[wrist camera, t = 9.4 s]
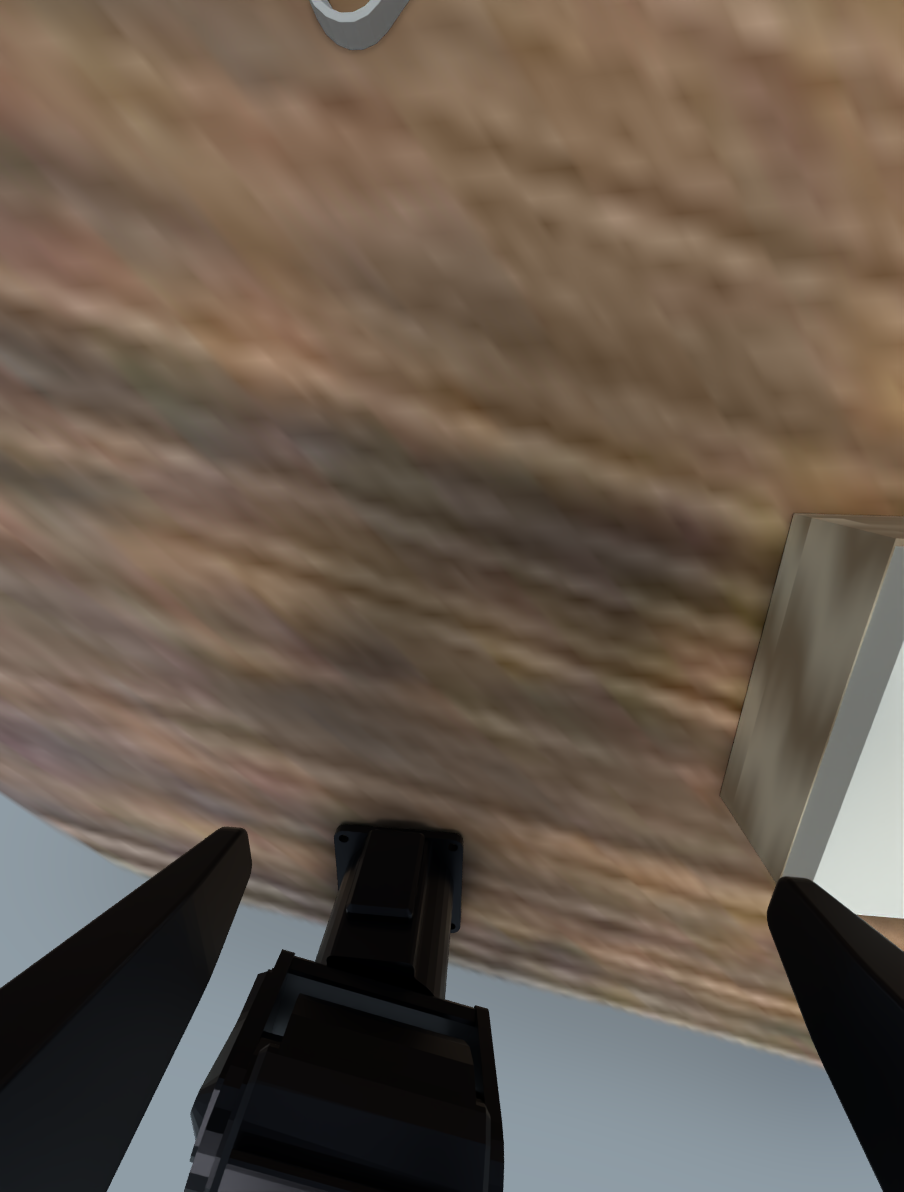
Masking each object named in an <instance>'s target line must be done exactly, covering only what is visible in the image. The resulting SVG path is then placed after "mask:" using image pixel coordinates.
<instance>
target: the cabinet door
mask: <svg viewBox="0 0 904 1192" xmlns="http://www.w3.org/2000/svg"><path fill="white" fill-rule="evenodd" d="M783 876H790V877H801V878H807V879H810V880H812V881H813V882H815V883H816V884H818V885H819V886H820V887H821V888H823V889H824V890H825V891H827V892H828V893H829V894H830V895H832V896H833V897H834V898H836V899H837V900H838V901H839V902H841V903H842V904H843V905H844V906H846V907H847V908H848V909H850V910H851V911H852V912H853V913H855V914H858V915H870V916H881V917H893V918H904V546H896V547H895V549H894V552H893V555H892V558H891V561H890V564H889V567H888V570H887V573H886V576H885V578H884V581H883V584H882V587H881V590H880V593H879V596H878V599H877V602H876V605H875V608H874V610H873V613H872V616H871V619H870V622H869V625H868V628H867V631H866V634H865V637H864V639H863V642H862V645H861V648H860V651H859V654H858V657H857V660H856V663H855V666H854V668H853V671H852V674H851V677H850V680H849V683H848V686H847V689H846V692H845V695H844V697H843V700H842V703H841V706H840V709H839V712H838V715H837V718H836V721H835V724H834V727H833V729H832V732H831V735H830V738H829V741H828V744H827V747H826V750H825V753H824V756H823V758H822V761H821V764H820V767H819V770H818V773H817V776H816V779H815V782H814V785H813V787H812V790H811V793H810V796H809V799H808V802H807V805H806V808H805V811H804V814H803V816H802V819H801V822H800V825H799V828H798V831H797V834H796V837H795V840H794V843H793V846H792V848H791V851H790V854H789V857H788V860H787V863H786V866H785V869H784V872H783V875H782V877H783Z"/></svg>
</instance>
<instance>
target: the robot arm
mask: <svg viewBox="0 0 904 1192" xmlns="http://www.w3.org/2000/svg"><path fill="white" fill-rule="evenodd" d="M344 835H346V836H344ZM334 844H335V855H336V867H337V879H338V890H339V891H338V894H337V897H336V900H335V903H334V906H333V909H332V912H331V915H330V918H329V921H328V924H327V927H326V930H325V934H324V937H323V939H322V943H321V945H320V948H319V951H318V954H317V957H316V960H315V962H314V961H311V960H307V959H304V958H300V957H297V956H294V955H295V953H293V952H290V951H286V950H283V949H282V951H281V954H280V955H279V958H278V960H277V962H276V965H275V967H274V968H272V970H270V969H269V970H268V971H267V972H264V973H260V974H258V975H257V978H256V980H255V982H254V985H253V987H252V989H251V992H250V994H249V996H248V999H247V1001H246V1003H245V1005H244V1008H243V1010H242V1012H241V1015H240V1017H239V1019H238V1021H237V1023H236V1025H235V1027H234V1029H233V1031H232V1032H231V1034H230V1036H229V1038H228V1040H227V1042H226V1044H225V1045H224V1047H223V1049H222V1051H221V1052H220V1054H219V1056H218V1058H217V1060H216V1061H215V1063H214V1065H213V1067H212V1069H211V1070H210V1072H209V1074H208V1076H207V1078H206V1079H205V1081H204V1083H203V1085H202V1087H201V1089H200V1091H199V1093H198V1095H197V1097H196V1100H195V1102H194V1105H193V1107H192V1110H191V1114H190V1115H191V1120H192V1125H193V1130H194V1135H195V1140H196V1141H195V1144H194V1148H193V1151H192V1154H191V1158H190V1162H193V1165H192V1167H191V1170H190V1173H189V1177H188V1180H187V1183H186V1186H185V1190H184V1192H503V1180H504V1140H503V1129H502V1118H501V1111H500V1110H501V1109H500V1101H499V1093H498V1084H497V1076H496V1068H495V1059H494V1051H493V1042H492V1034H491V1026H490V1017H489V1011H488V1009H487V1008H483V1007H479V1006H474V1008H473V1007H469V1006H466V1005H462V1004H459V1003H455V1002H452V1001H449V1000H445V992H446V979H447V967H448V954H449V942H450V933H455V932H457V931H458V930H459V929H460V923H461V896H462V867H463V838H462V837H461V836H460V835H458V834H455V833H446V832H433V831H420V830H408V829H395V828H382V827H369V826H357V825H341V826H339V827H338V828H337V830H336V833H335V835H334ZM452 844H456V845H452ZM251 869H252V859H251V853H250V846H249V839H248V834H247V831H246V830H245V829H243V828H236V827H222V828H220V829H218V830H216V831H215V832H214V833H212V834H211V835H209V836H208V837H207V838H205V839H204V840H203V841H201V842H200V843H199V844H197V845H196V846H194V847H193V848H192V849H190V850H189V851H188V852H186V853H185V854H183V855H182V856H181V857H179V858H178V859H177V860H175V861H174V862H172V863H171V864H170V865H168V866H167V867H166V868H164V869H163V870H162V871H160V872H159V873H157V874H156V875H155V876H153V877H152V878H151V879H149V880H148V881H146V882H145V883H144V884H142V885H141V886H140V887H138V888H137V889H135V890H134V891H133V892H131V893H130V894H129V895H127V896H126V897H125V898H123V899H122V900H120V901H119V902H118V903H116V904H115V905H114V906H112V907H111V908H109V909H108V910H107V911H105V912H104V913H103V914H101V915H100V916H99V917H97V918H96V919H94V920H93V921H92V922H90V923H89V924H88V925H86V926H85V927H84V928H82V929H81V930H79V931H78V932H77V933H75V934H74V935H73V936H71V937H70V938H68V939H67V940H66V941H65V942H63V943H62V944H60V945H59V946H57V947H56V948H55V949H53V950H52V951H51V952H49V953H48V954H46V955H45V956H44V957H42V958H41V959H40V960H38V961H37V962H36V963H34V964H33V965H31V966H30V967H29V968H27V969H26V970H25V971H23V972H22V973H21V974H19V975H18V976H16V977H15V978H14V979H12V980H11V981H10V982H8V983H7V984H5V985H4V986H3V987H1V988H0V1192H107V1190H108V1188H109V1186H110V1184H111V1181H112V1179H113V1177H114V1175H115V1173H116V1171H117V1169H118V1167H119V1165H120V1163H121V1160H122V1159H123V1157H124V1155H125V1153H126V1151H127V1149H128V1147H129V1145H130V1143H131V1140H132V1138H133V1136H134V1134H135V1132H136V1130H137V1128H138V1126H139V1124H140V1122H141V1120H142V1118H143V1116H144V1114H145V1112H146V1110H147V1108H148V1106H149V1104H150V1102H151V1100H152V1097H153V1095H154V1093H155V1091H156V1089H157V1087H158V1085H159V1083H160V1081H161V1079H162V1077H163V1075H164V1073H165V1071H166V1069H167V1067H168V1065H169V1063H170V1061H171V1058H172V1056H173V1054H174V1052H175V1050H176V1048H177V1046H178V1044H179V1042H180V1040H181V1038H182V1036H183V1034H184V1032H185V1030H186V1028H187V1026H188V1024H189V1022H190V1020H191V1018H192V1016H193V1013H194V1011H195V1009H196V1007H197V1005H198V1003H199V1001H200V999H201V997H202V995H203V993H204V991H205V988H206V986H207V984H208V982H209V980H210V978H211V975H212V973H213V970H214V968H215V965H216V963H217V961H218V958H219V955H220V953H221V950H222V948H223V945H224V943H225V940H226V937H227V935H228V932H229V930H230V927H231V924H232V922H233V919H234V917H235V914H236V911H237V909H238V906H239V904H240V901H241V899H242V896H243V893H244V891H245V888H246V886H247V883H248V880H249V878H250V874H251ZM767 922H768V926H769V929H770V932H771V935H772V937H773V940H774V943H775V945H776V948H777V950H778V953H779V956H780V958H781V961H782V964H783V966H784V969H785V971H786V974H787V977H788V979H789V982H790V985H791V987H792V990H793V992H794V995H795V998H796V1000H797V1003H798V1005H799V1008H800V1011H801V1013H802V1016H803V1019H804V1021H805V1024H806V1026H807V1029H808V1031H809V1034H810V1036H811V1039H812V1041H813V1043H814V1046H815V1048H816V1050H817V1052H818V1055H819V1057H820V1059H821V1061H822V1063H823V1066H824V1068H825V1070H826V1072H827V1074H828V1076H829V1078H830V1080H831V1082H832V1085H833V1087H834V1089H835V1091H836V1093H837V1095H838V1097H839V1099H840V1102H841V1104H842V1106H843V1108H844V1110H845V1112H846V1114H847V1116H848V1119H849V1121H850V1123H851V1124H852V1127H853V1129H854V1131H855V1133H856V1135H857V1137H858V1140H859V1142H860V1144H861V1146H862V1148H863V1150H864V1152H865V1154H866V1157H867V1159H868V1161H869V1163H870V1165H871V1167H872V1169H873V1171H874V1173H875V1176H876V1178H877V1180H878V1182H879V1184H880V1186H881V1188H882V1190H883V1192H904V951H902V950H901V949H900V948H898V947H897V946H896V945H895V944H893V943H892V942H891V941H889V940H888V939H887V938H886V937H884V936H883V935H882V934H880V933H879V932H878V931H877V930H875V929H874V928H873V927H871V926H870V925H869V924H868V923H866V922H865V921H864V920H862V919H861V918H860V917H859V916H857V915H856V914H855V913H853V912H852V911H851V910H850V909H848V908H847V907H846V906H844V905H843V904H842V903H841V902H839V901H838V900H837V899H836V898H834V897H833V896H832V895H830V894H829V893H828V892H827V891H825V890H824V889H823V888H821V887H820V886H819V885H818V884H816V883H815V882H813V881H812V880H810V879H807V878H801V877H790V876H783V877H781V878H780V879H778V881H777V884H776V887H775V889H774V892H773V895H772V898H771V901H770V904H769V906H768V910H767Z"/></svg>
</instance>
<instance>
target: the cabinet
mask: <svg viewBox="0 0 904 1192" xmlns="http://www.w3.org/2000/svg"><path fill="white" fill-rule="evenodd" d="M896 546H904V516H871V515H837V514H803V513H794V515H793V519H792V522H791V526H790V530H789V534H788V538H787V541H786V545H785V549H784V553H783V557H782V561H781V564H780V568H779V572H778V576H777V580H776V583H775V587H774V591H773V595H772V599H771V602H770V606H769V610H768V614H767V618H766V622H765V625H764V629H763V633H762V637H761V641H760V644H759V648H758V652H757V656H756V660H755V663H754V667H753V671H752V675H751V679H750V682H749V686H748V690H747V694H746V698H745V702H744V705H743V709H742V713H741V717H740V721H739V724H738V728H737V732H736V736H735V740H734V743H733V747H732V751H731V755H730V759H729V763H728V766H727V770H726V774H725V778H724V782H723V785H722V789H721V793H720V797H721V798H722V800H723V802H724V803H725V805H726V806H727V808H728V809H729V811H730V812H731V814H732V816H733V817H734V819H735V820H736V822H737V823H738V825H739V826H740V828H741V830H742V831H743V833H744V834H745V836H746V837H747V839H748V840H749V842H750V844H751V845H752V847H753V848H754V850H755V851H756V853H757V854H758V856H759V858H760V859H761V861H762V862H763V864H764V865H765V867H766V868H767V870H768V872H769V873H770V875H771V876H772V878H773V879H774V881H775V882H776V884H777V881H778V879H780V878H781V877H782V875H783V872H784V869H785V866H786V863H787V860H788V857H789V854H790V851H791V848H792V846H793V843H794V840H795V837H796V834H797V831H798V828H799V825H800V822H801V819H802V816H803V814H804V811H805V808H806V805H807V802H808V799H809V796H810V793H811V790H812V787H813V785H814V782H815V779H816V776H817V773H818V770H819V767H820V764H821V761H822V758H823V756H824V753H825V750H826V747H827V744H828V741H829V738H830V735H831V732H832V729H833V727H834V724H835V721H836V718H837V715H838V712H839V709H840V706H841V703H842V700H843V697H844V695H845V692H846V689H847V686H848V683H849V680H850V677H851V674H852V671H853V668H854V666H855V663H856V660H857V657H858V654H859V651H860V648H861V645H862V642H863V639H864V637H865V634H866V631H867V628H868V625H869V622H870V619H871V616H872V613H873V610H874V608H875V605H876V602H877V599H878V596H879V593H880V590H881V587H882V584H883V581H884V578H885V576H886V573H887V570H888V567H889V564H890V561H891V558H892V555H893V552H894V549H895V547H896Z"/></svg>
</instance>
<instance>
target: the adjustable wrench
mask: <svg viewBox="0 0 904 1192" xmlns="http://www.w3.org/2000/svg"><path fill="white" fill-rule="evenodd" d="M309 1H310V3H311V6H312V8H313V10H314V13H315V15H316V17H317V20H318V21H319V23H320V25H321V26H322V28H323V30H324V32H325V33H326V35H327V36H329V37H330V38H331V39H332V40H333V41H334V42H335V43H336V44H337V45H339V46H342V47H344V48H347V49H349V50H364V49H366V48H368V47H370V46H372V45H374V44H376V43H377V42H378V41H379V40H380V39H381V38H382V37H383V36H384V35H385V34H386V33H387V32H388V30H389V29H390V27H391V26H392V25H393V23H394V22H395V20H396V19H397V17H398V16H399V14H400V13H401V11H402V10H403V9H404V7H405V6H406V4H407V3H408V1H409V0H370V1H369V2H368V3H367V4H366V5H365V6H364V7H362V8H360V9H358V10H356V11H354V12H345V13H340V12H338V11H335V10H333V9H332V7H331V5H330V4H329V2H328V0H309Z"/></svg>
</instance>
